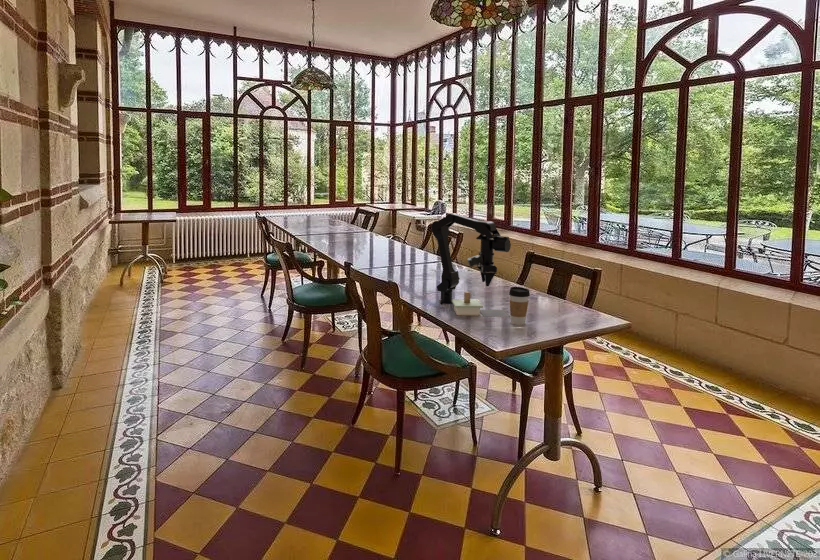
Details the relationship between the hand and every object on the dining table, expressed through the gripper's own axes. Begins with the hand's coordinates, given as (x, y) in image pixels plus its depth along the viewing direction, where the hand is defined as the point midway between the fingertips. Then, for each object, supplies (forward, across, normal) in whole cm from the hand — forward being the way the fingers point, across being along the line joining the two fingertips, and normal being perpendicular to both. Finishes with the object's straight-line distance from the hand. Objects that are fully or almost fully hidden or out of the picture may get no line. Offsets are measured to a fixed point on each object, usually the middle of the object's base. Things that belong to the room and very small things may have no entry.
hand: (485, 284), depth 241 cm
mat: (+12, +7, +3) cm, 14 cm away
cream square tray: (+12, +6, -9) cm, 16 cm away
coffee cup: (+12, +22, +10) cm, 27 cm away
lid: (+8, +6, -9) cm, 13 cm away
